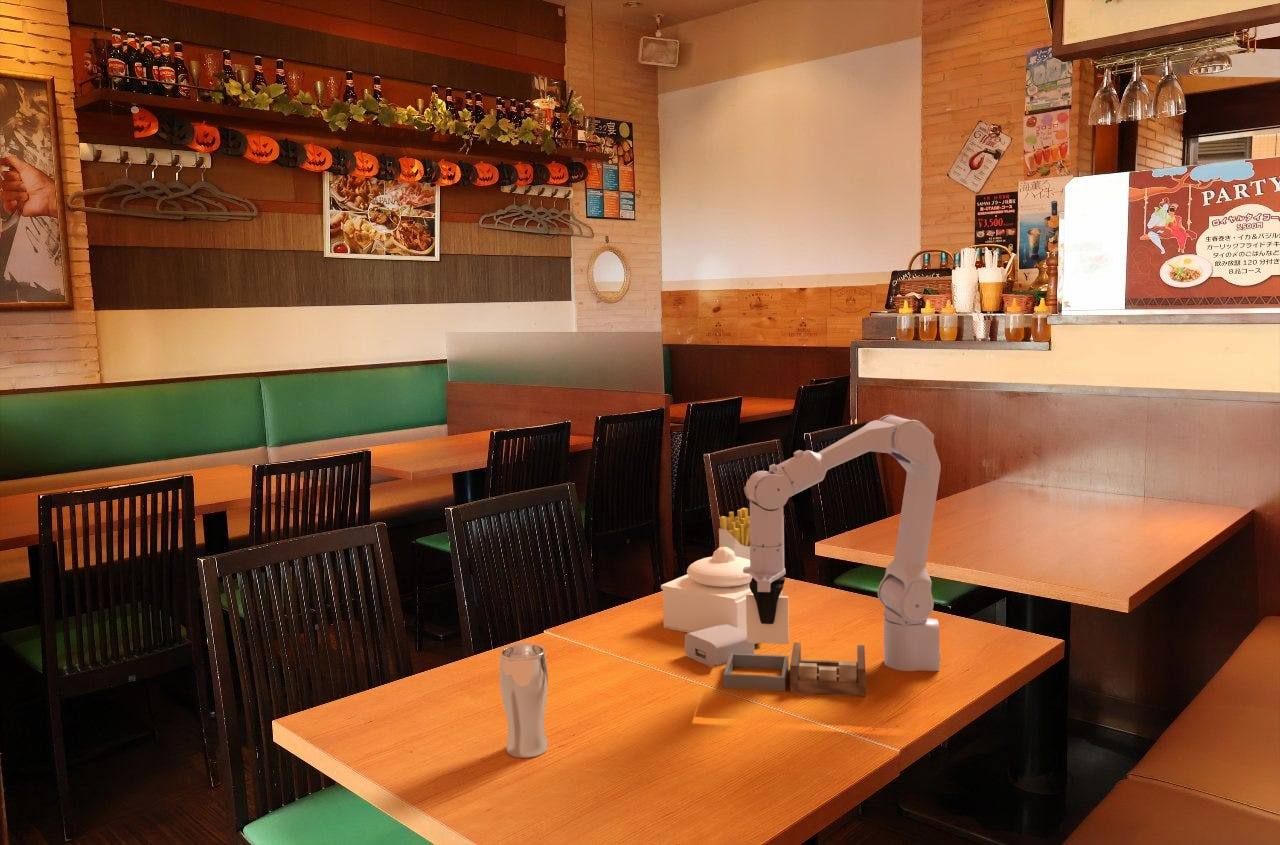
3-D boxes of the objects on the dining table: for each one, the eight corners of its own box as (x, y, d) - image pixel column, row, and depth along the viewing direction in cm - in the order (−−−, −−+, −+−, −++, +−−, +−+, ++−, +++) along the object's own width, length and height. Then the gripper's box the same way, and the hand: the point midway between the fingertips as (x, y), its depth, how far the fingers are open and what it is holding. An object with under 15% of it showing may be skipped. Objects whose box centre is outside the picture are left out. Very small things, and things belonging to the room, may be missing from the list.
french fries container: (766, 586, 222) (764, 508, 220) (736, 597, 214) (734, 517, 212) (750, 582, 225) (748, 506, 223) (720, 593, 218) (718, 514, 215)
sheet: (789, 641, 165) (788, 595, 164) (788, 644, 164) (787, 598, 163) (747, 640, 166) (746, 594, 165) (747, 642, 165) (746, 596, 164)
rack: (864, 674, 168) (864, 644, 167) (865, 701, 156) (865, 670, 155) (794, 670, 170) (793, 641, 170) (790, 697, 159) (789, 666, 158)
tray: (788, 672, 170) (788, 655, 169) (785, 695, 160) (784, 677, 159) (730, 669, 172) (730, 653, 171) (723, 692, 162) (722, 674, 161)
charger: (779, 651, 180) (717, 671, 172) (746, 638, 188) (685, 656, 179) (778, 627, 180) (716, 645, 171) (745, 615, 187) (684, 631, 179)
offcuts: (856, 688, 159) (856, 662, 159) (856, 692, 158) (856, 665, 157) (799, 685, 161) (799, 659, 161) (799, 689, 160) (799, 663, 159)
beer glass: (552, 737, 147) (547, 641, 145) (549, 758, 140) (544, 658, 138) (505, 739, 146) (501, 643, 145) (500, 761, 140) (495, 660, 138)
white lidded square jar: (737, 644, 185) (736, 563, 183) (661, 628, 196) (659, 551, 194) (783, 619, 199) (782, 543, 197) (709, 605, 210) (707, 533, 208)
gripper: (747, 532, 171) (748, 607, 172) (738, 553, 157) (739, 634, 158) (787, 533, 169) (788, 609, 171) (782, 554, 155) (783, 636, 157)
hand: (767, 621), depth 164 cm, fingers closed on sheet, 1 cm apart
